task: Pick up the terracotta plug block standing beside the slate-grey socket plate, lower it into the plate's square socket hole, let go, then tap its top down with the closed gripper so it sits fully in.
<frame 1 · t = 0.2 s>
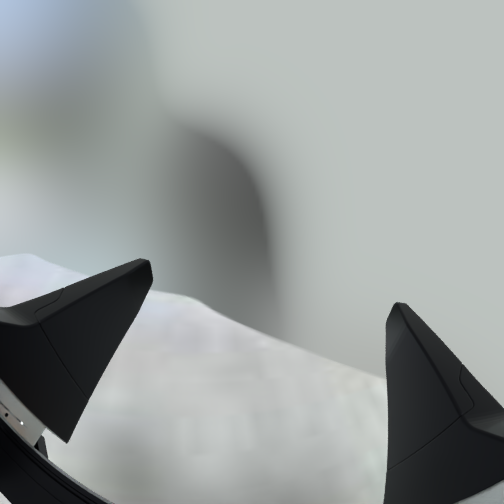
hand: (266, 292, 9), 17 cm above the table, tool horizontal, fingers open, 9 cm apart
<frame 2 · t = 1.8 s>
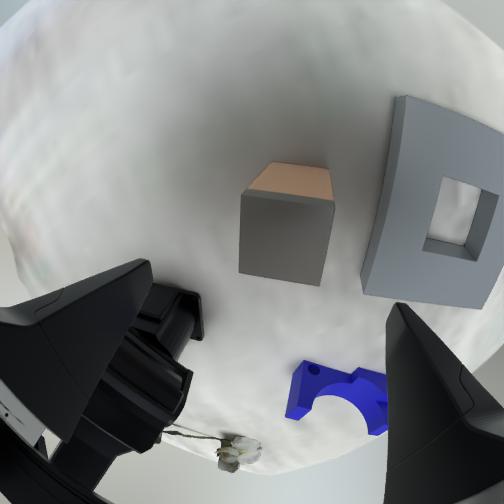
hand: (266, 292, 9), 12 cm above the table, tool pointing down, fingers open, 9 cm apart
artificial flower: (208, 430, 45), on the table
cable clip: (347, 375, 28), on the table
socket plate: (449, 209, 16), on the table
plug: (297, 192, 19), on the table
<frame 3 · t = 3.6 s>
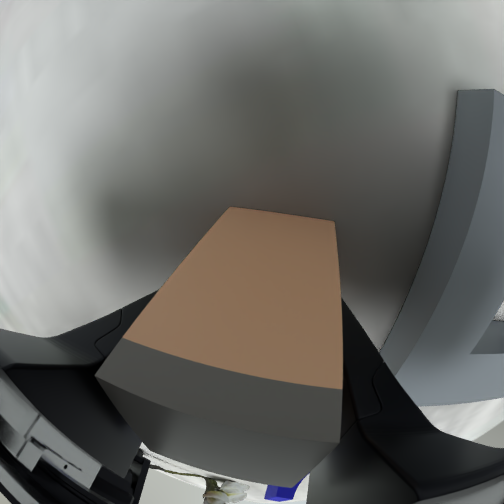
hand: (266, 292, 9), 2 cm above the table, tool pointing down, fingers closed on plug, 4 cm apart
artificial flower: (193, 469, 37), on the table
cable clip: (341, 449, 20), on the table
plug: (276, 259, 11), on the table, touching gripper
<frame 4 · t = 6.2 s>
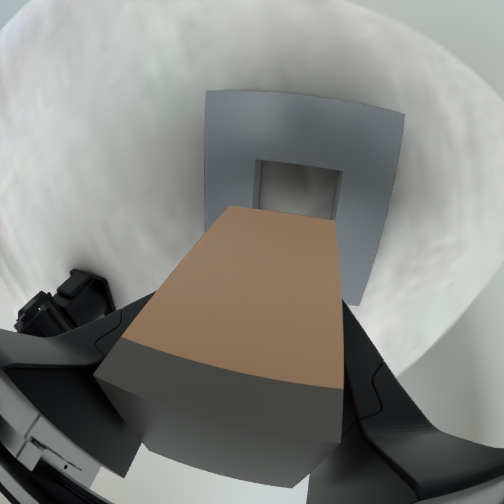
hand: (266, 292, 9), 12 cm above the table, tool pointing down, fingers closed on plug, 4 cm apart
socket plate: (297, 194, 19), on the table
plug: (276, 258, 11), point 9 cm above the table, touching gripper
when the fingers open (3 cm above the table, at t = 8.4 s): plug drops 1 cm, resting in socket plate.
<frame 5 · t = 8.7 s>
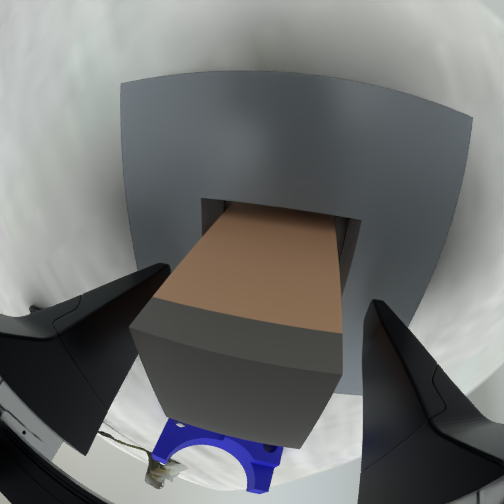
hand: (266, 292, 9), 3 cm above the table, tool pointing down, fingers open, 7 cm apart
artificial flower: (141, 443, 40), on the table
cable clip: (225, 429, 25), on the table
socket plate: (281, 245, 12), on the table
plug: (281, 244, 12), resting in socket plate
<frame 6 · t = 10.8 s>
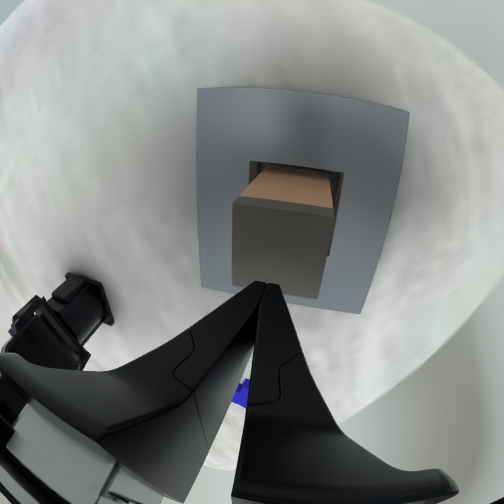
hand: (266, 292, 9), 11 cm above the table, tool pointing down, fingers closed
cable clip: (241, 384, 31), on the table
socket plate: (295, 197, 18), on the table
plug: (294, 196, 18), resting in socket plate
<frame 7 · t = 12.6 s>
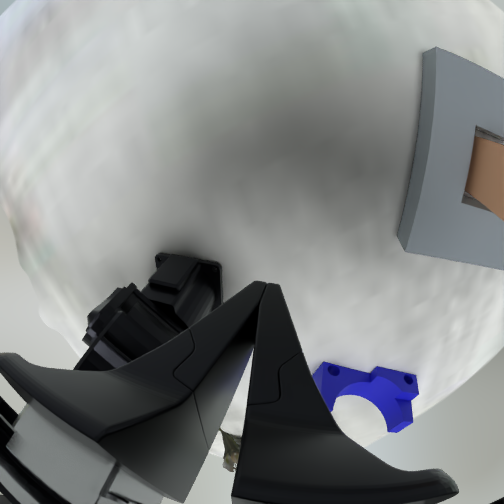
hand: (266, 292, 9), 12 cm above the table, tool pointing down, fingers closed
artificial flower: (226, 424, 42), on the table
cable clip: (366, 374, 27), on the table
socket plate: (480, 166, 14), on the table
plug: (480, 165, 14), resting in socket plate
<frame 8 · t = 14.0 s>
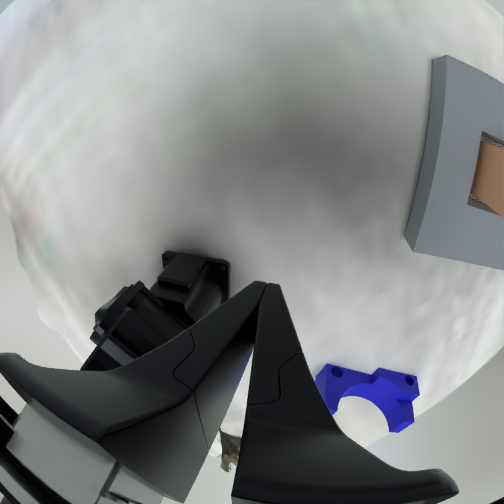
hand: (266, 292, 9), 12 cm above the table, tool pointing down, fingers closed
artificial flower: (228, 425, 42), on the table
cable clip: (368, 376, 28), on the table
socket plate: (484, 170, 14), on the table
plug: (484, 169, 14), resting in socket plate
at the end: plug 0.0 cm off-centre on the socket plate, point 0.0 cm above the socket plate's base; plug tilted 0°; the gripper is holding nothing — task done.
